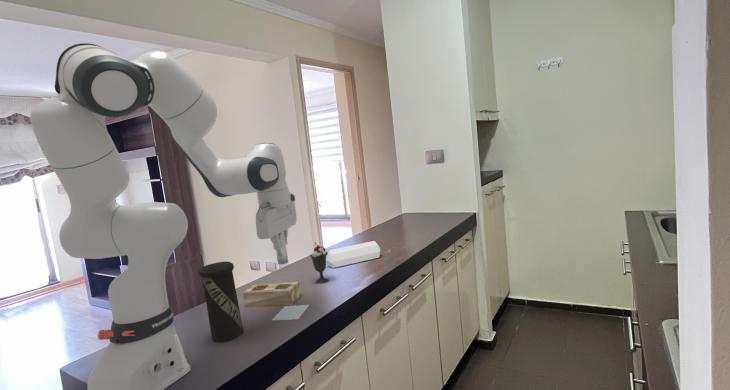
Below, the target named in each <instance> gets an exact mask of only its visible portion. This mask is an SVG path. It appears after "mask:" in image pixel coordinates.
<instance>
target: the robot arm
mask: <svg viewBox="0 0 730 390" xmlns="http://www.w3.org/2000/svg"><path fill="white" fill-rule="evenodd" d="M55 72H56V73H55V80H54V90H55V92H56V93H57V95H56V96H53V97H50V98H49V97H48V98H46V99H44V100H42V101H41V102H39V103H37V104H36V105H35V106H34V107H33V109H31V111H30V116H29V121H30V124H31V128H32V130H33V133H34V135H35V137H36V142H37V143H38V145H39V147H40V149H41V151H42V154H43V155H44V156H45V158H46V160H47V162H48V163H49V166H50V167H51V168H52V170H53V172H54V173H55V175H56V176H57V179H58V180H59V182H60V184H61V186H62V187H63V189H64V191H65V194H66V195H67V197H68V200H69V203H70V213H69V214H68V217H67V218H65V220H64V221H63V223H62V225H61V227H60V229H59V236H58V237H59V243H60V245H61V247H62V249H63V250H64V252H65V253H66V254H67V255H68V256H69V257H71V258H74V259H75V258H76V259H88V260H89V259H90V260H92V259H93V260H98V259H99V260H101V259H106V258H107V259H108V258H115V257H121V256H122V257H123V256H127V261H128V264H127V268H126V270H124V271H123V272H121V273H120V274H118V275H117V276H115V278H114V279H113V280H112V281H111V282H110V284H109V286H108V289H107V293H108V300H109V305H110V310H111V314H112V319H113V320H112V321H111V327H110V329H100V330H99V332H98V333H97V339H98V340H99V341H103V340H105V341H106V340H107V341H108V340H109V343H108V345H107V347H106V349H105V350H104V351H103V353H102V355H100V358H99V359H98V361H97V362H96V364H95V366H94V367H93V368H92V370H91V372H90V373H89V375H88V376H87V386H86V387H87V390H165V389H167V388H168V387H169V386H171V385H173V384H174V383H176V382H177V381H178V380H179V379H181V378H182V377H184V376H185V375H186V374H188V373H190V371H191V370H192V368H191V366H190V364H189V362H188V360H187V358H186V355H185V352H184V349H183V347H182V343H181V340H180V337H179V334H178V333H177V331H176V329H175V327H174V324H173V323H174V321H175V319H174V312H173V309H172V306H171V304H169V298H168V292H167V285H166V284H167V283H166V270H167V269H166V268H167V265H168V263H169V262H168V261H169V260H170V257H171V255H172V254H173V252H174V250H175V249H176V248H177V247H178V246H179V245H180V244H181V243H182V242H183V241H184V239H185V238H186V236H187V233H188V228H189V221H188V218H187V215H186V213H185V211H184V210H183V209H182V208H181V207H180V206H179V205H178V204H176V203H174V202H162V201H161V202H159V201H149V202H143V203H135V204H126V205H122V204H121V205H120V204H119V203H118V202H117V201H116V199H117V198H118V197H119V196H120V195H122V194H123V193H124V192H125V190H126V189H127V187H128V186H129V182H130V173H129V171H128V168H127V167H126V165H125V163H124V161H123V159H122V157H121V155H120V153H119V151H118V149H117V146H116V145H115V142H114V140H112V137H111V135H110V133H109V132H108V128H107V125H106V117H108V118H121V117H123V116H128V115H129V114H132V113H134V112H136V111H137V110H138V109H140V108H142V107H145V106H148V107H150V108H151V109H152V110H153V112H155V113H156V114H157V115H158V116H159V118H161V119H162V120H163V121H164V122H165V124H166V125H167V127H168V128H169V135H170V138H171V139H172V142H173V143H174V145H176V147H177V148H178V149H179V151H180V152H181V153H182V154H183V156H184V157H185V158H186V159H187V160H188V162H189V163H190V164H191V165H192V166H193V167H194V169H195V170H196V171H197V172H198V174H199V176H201V178H202V180H203V182H204V183H205V186H206V187H207V189H208V190H209V191H210V192H211V193H212V194H213V195H214V196H215V197H218V198H226V197H231V196H232V197H233V196H236V195H237V196H238V195H247V194H254V193H256V195H257V202H258V208H257V210H256V211H257V212H256V213H255V230H256V236H257V238H258V239H259V240H267V239H270V241H271V243H272V245H273V250H275V251H276V250H278V249H280V248H281V247H282V246H281V242H280V241H279V238H278V237H279V233H281V232H282V231H284V236H285V243H286V246H287V245H288V243H289V242H288V235H289V229H290V228H292V227H294V226H295V225H296V224H297V211H296V209H297V208H296V204H295V202H296V195H295V194H294V193H292V192H290V190H289V186H288V184H287V180H286V175H287V170H286V164H285V160H284V155H283V151H282V150H281V148H280V146H279V145H277V144H276V143H273V142H271V143H270V142H269V143H268V142H261V143H257V144H254V145H253V146H252V149H251V151H250V152H249V153H248V154H246V155H245V156H244V157H238V158H231V159H230V158H229V159H223V158H220V157H217V155H216V154H215V152H213V150H212V149H211V147H209V145H208V143H207V142H206V141H205V139H204V138H205V137H206V135H208V134H209V132H211V129H213V127H214V125H215V122H216V121H217V117H218V108H217V107H218V106H217V103H215V100H214V99H213V97H212V95H211V94H210V93H209V92H208V90H207V89H206V88H205V87H204V86H203V85H202V83H200V81H199V80H198V79H197V78H196V77H195V76H194V75H193V74H192V73H191V72H190V71H189V70H188V69H187V67H185V66H184V65H183V64H182V63H181V62H179V61H178V60H177V59H176V58H175V57H173V56H172V55H171V54H170V53H168V52H165V51H163V50H150V51H147V52H144V53H143V54H141V55H140V56H138V57H137V58H135V59H133V60H132V59H131V60H127V59H126V58H123V57H122V56H120V55H118V53H116V52H114V51H112V50H109V49H108V48H105V47H103V46H100V45H98V44H93V43H87V42H84V43H76V44H73V45H70V46H68V47H67V48H65V49H64V50H63V51H62V53H61V54H60V55H59V57H58V59H57V63H56V71H55Z"/></svg>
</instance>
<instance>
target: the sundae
mask: <svg viewBox="0 0 730 390" xmlns="http://www.w3.org/2000/svg"><path fill="white" fill-rule="evenodd" d="M314 244H315V247H314V249H313V251H312V253H311V254H310V255H309V257H310V258H311V260H312V263H313V264H312V265H313V267H314V270H315V271H317V272H318V273H319V279H317V280H315V284H325V283H327V282H329V281H330V279H329V278H325V277H324V274H323V273H324V271H325V270H326V268H327V262H326V258H327V255H328V252H329V251H326V248H325V247H323V246H320V245H318V244H317V242H314Z"/></svg>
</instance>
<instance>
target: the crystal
mask: <svg viewBox="0 0 730 390" xmlns="http://www.w3.org/2000/svg"><path fill="white" fill-rule="evenodd" d="M327 252H328V254H327V255H326V265H328V266H329V267H330V268H332V269H335V268H338V267H340V268H341V267H343V266H347V265H352V264H356V263H361V262H366V261H370V260H375V259H379V258H380V257H381V256H380V254H381V246H379V244H378V243H377V242H376V241H375V240H372V241H367V242H362V243H357V244H353V245H348V246H344V247H343V246H342V247H338V248H333V249H330V250H329V251H327Z"/></svg>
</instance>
